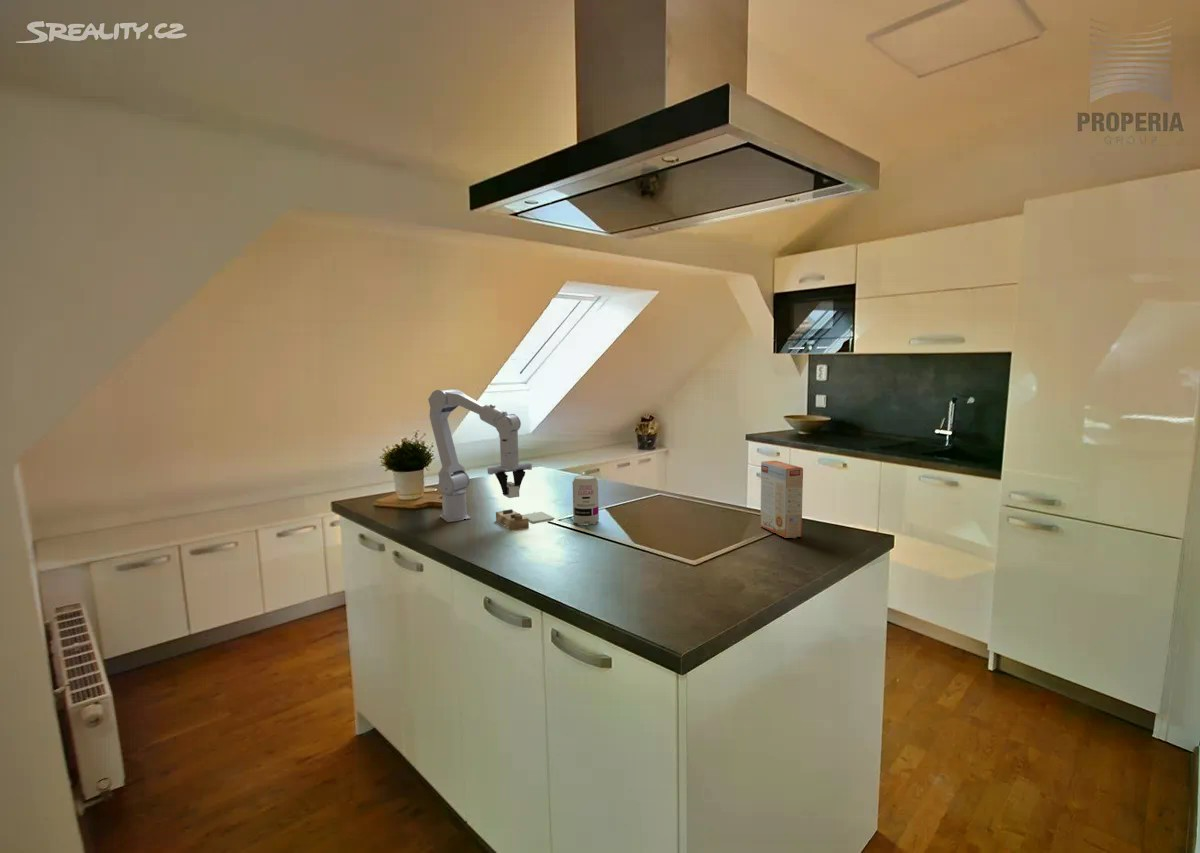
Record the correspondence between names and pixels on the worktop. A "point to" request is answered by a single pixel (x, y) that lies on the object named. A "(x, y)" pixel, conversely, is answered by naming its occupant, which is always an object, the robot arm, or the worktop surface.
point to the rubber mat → (538, 517)
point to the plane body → (512, 519)
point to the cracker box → (781, 498)
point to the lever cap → (512, 490)
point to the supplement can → (585, 499)
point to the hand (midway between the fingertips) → (510, 493)
